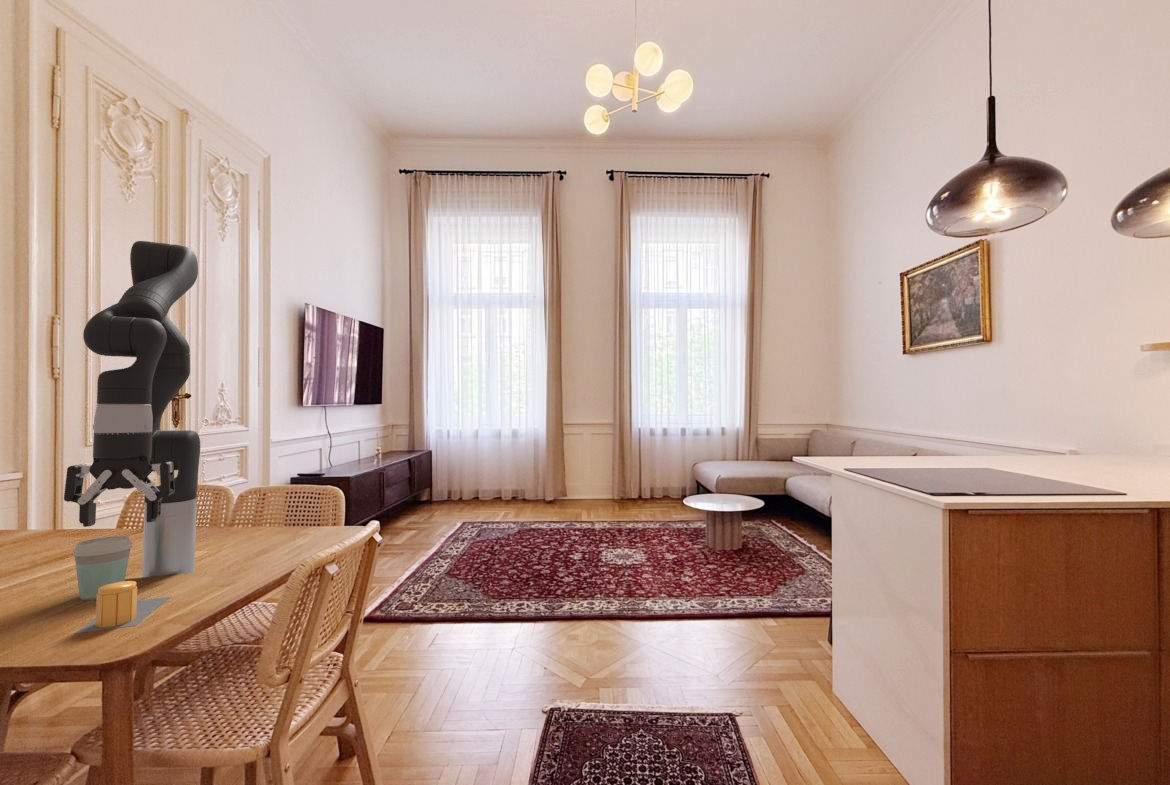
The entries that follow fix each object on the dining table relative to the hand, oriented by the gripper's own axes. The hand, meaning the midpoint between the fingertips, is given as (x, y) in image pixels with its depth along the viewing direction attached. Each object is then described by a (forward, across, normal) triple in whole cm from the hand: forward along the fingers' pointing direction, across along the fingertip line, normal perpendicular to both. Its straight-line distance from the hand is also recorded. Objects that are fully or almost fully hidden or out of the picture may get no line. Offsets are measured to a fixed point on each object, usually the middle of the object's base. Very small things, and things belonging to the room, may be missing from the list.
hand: (120, 523), depth 86 cm
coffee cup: (+18, +10, -17) cm, 27 cm away
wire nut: (+17, 0, 0) cm, 17 cm away
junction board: (+18, 0, -3) cm, 18 cm away
